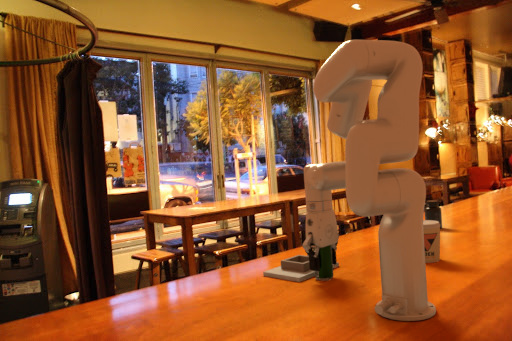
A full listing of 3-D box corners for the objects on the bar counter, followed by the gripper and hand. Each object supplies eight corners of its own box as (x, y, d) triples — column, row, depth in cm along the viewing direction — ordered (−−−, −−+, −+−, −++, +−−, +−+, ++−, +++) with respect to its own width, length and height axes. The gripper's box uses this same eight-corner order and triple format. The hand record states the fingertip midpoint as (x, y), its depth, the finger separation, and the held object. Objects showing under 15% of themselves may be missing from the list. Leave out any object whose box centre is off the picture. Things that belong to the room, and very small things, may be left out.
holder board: (299, 282, 129) (298, 269, 129) (263, 275, 139) (262, 263, 138) (338, 266, 143) (337, 254, 143) (303, 261, 153) (303, 250, 153)
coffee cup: (408, 262, 141) (406, 224, 141) (413, 256, 150) (411, 219, 149) (440, 264, 137) (438, 224, 137) (443, 257, 145) (441, 219, 145)
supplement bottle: (422, 228, 198) (420, 201, 197) (433, 226, 200) (431, 199, 200) (434, 230, 191) (432, 202, 191) (446, 228, 194) (444, 200, 194)
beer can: (323, 282, 127) (320, 239, 127) (311, 278, 131) (308, 237, 131) (337, 278, 130) (334, 236, 130) (324, 274, 134) (322, 234, 134)
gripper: (311, 210, 121) (316, 276, 122) (347, 202, 134) (351, 262, 134) (289, 210, 126) (294, 272, 127) (326, 202, 139) (330, 259, 139)
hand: (323, 266), depth 131 cm, fingers open, 7 cm apart
